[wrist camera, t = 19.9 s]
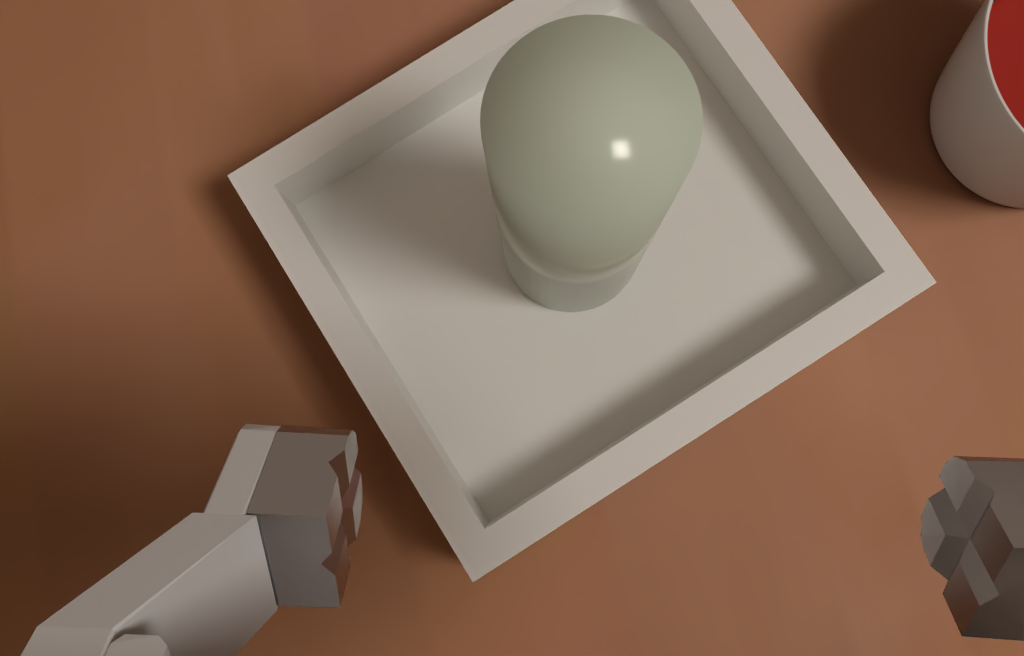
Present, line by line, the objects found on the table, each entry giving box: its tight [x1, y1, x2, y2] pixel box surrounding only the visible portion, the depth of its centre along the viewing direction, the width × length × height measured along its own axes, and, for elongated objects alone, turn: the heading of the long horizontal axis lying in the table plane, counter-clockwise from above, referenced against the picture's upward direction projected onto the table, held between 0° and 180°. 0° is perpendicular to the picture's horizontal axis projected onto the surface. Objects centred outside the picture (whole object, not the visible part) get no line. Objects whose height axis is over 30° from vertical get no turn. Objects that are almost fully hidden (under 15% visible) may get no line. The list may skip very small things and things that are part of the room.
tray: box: [227, 0, 936, 582], centre depth 30 cm, size 18×16×4 cm
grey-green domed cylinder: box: [480, 15, 703, 312], centre depth 25 cm, size 5×5×12 cm
